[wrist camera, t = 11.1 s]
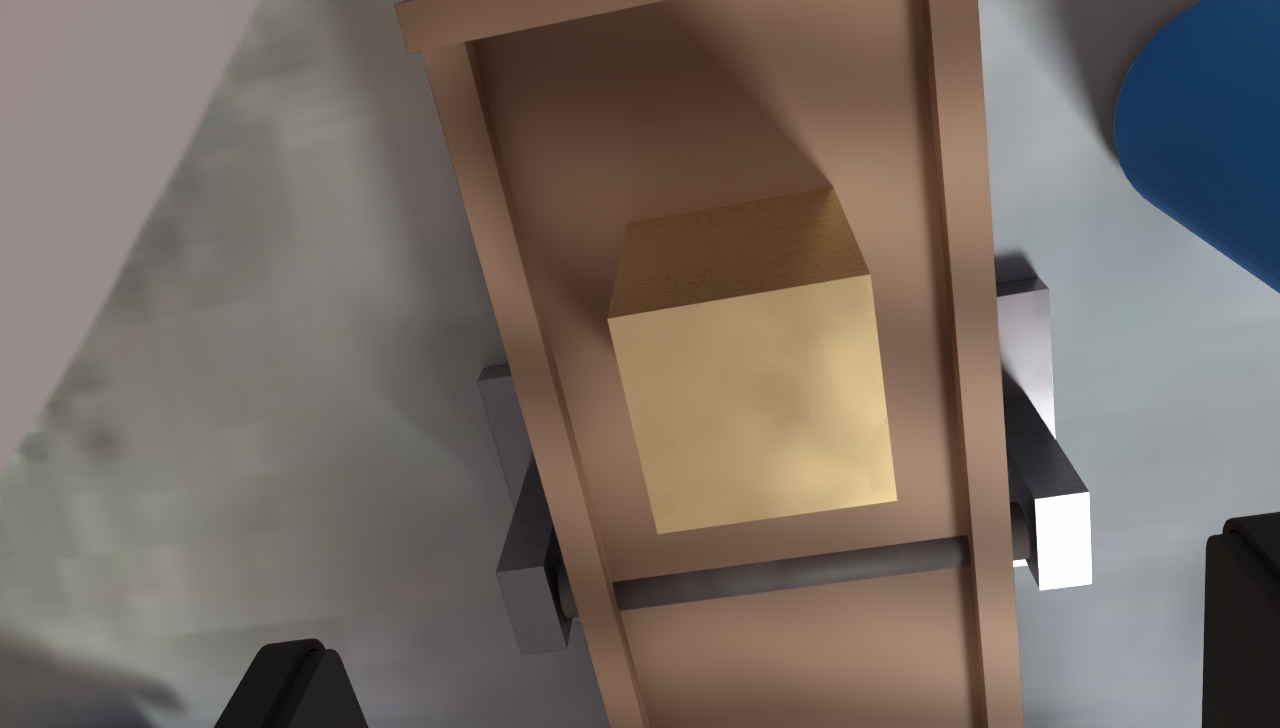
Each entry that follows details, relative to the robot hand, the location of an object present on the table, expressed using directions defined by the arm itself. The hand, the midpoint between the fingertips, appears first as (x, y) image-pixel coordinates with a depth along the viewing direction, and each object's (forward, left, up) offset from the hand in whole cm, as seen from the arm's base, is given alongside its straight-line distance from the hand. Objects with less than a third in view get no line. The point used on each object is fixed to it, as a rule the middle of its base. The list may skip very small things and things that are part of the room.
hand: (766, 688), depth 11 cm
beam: (-8, -6, -16) cm, 19 cm away
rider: (-1, -1, -16) cm, 16 cm away
